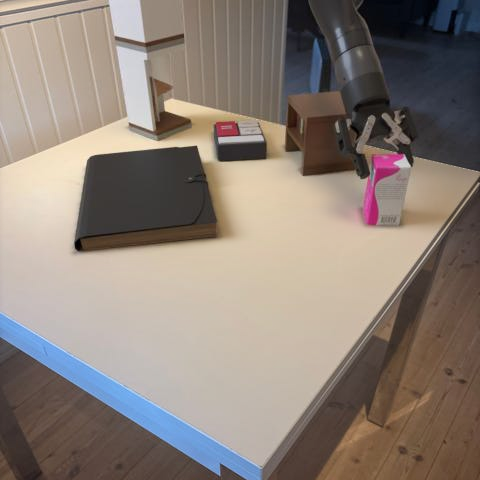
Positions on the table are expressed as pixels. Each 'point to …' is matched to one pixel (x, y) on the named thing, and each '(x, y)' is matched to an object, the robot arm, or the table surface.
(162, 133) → the white tower
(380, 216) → the supplement box
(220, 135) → the dark grey flat box
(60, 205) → the table surface
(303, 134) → the shelf
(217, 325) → the table surface
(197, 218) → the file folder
